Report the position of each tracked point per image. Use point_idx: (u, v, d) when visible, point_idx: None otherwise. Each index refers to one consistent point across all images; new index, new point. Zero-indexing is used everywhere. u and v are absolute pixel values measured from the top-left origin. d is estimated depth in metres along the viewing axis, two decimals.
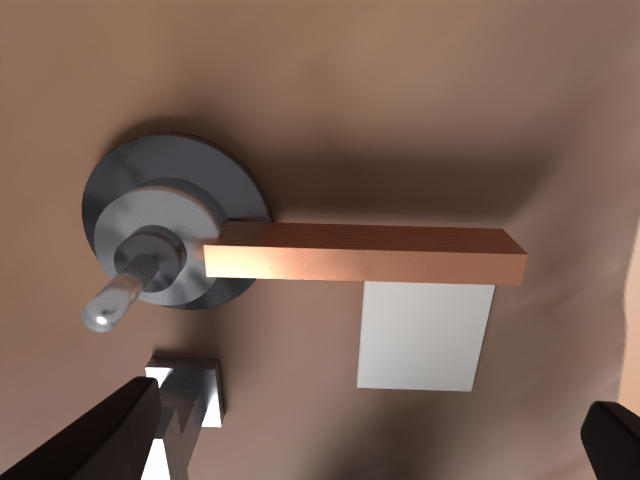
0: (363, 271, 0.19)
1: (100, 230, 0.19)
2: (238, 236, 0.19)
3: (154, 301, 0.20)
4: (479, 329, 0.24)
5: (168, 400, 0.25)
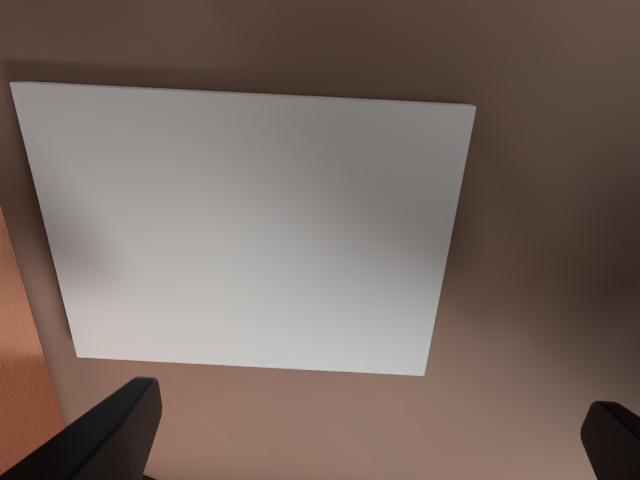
0: None
1: None
2: None
3: None
4: (248, 110, 0.09)
5: None
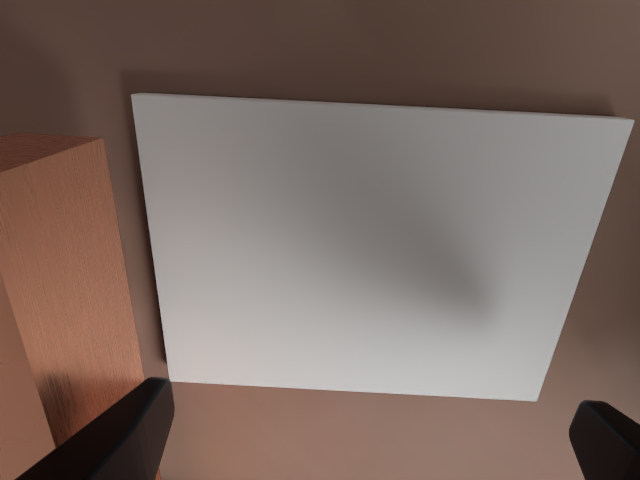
0: None
1: None
2: None
3: None
4: (386, 124, 0.08)
5: None
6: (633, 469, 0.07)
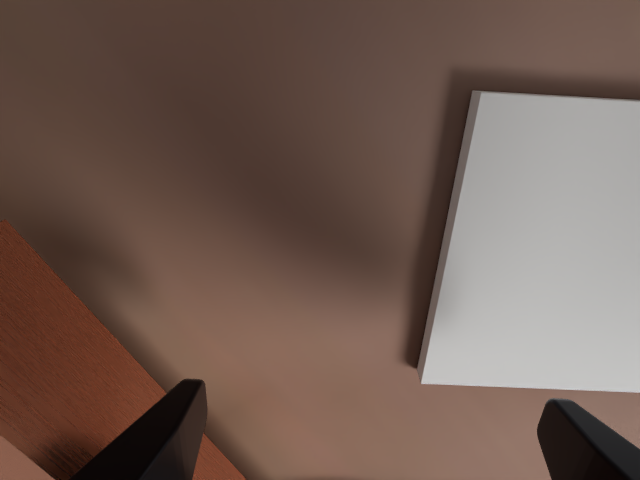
0: None
1: None
2: None
3: None
4: None
5: None
6: (593, 467, 0.07)
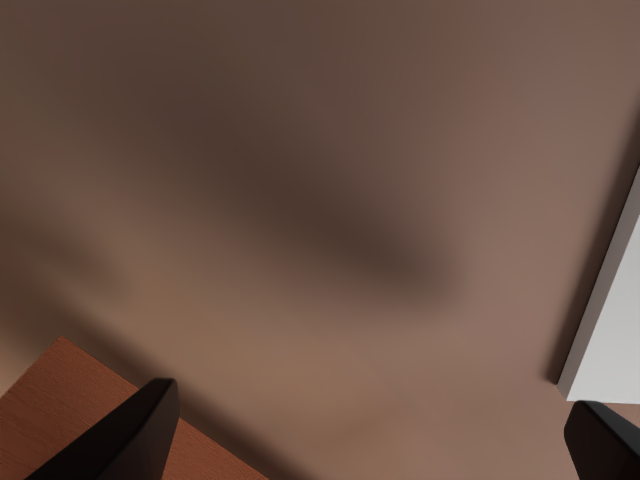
0: None
1: None
2: None
3: None
4: None
5: None
6: (627, 469, 0.07)
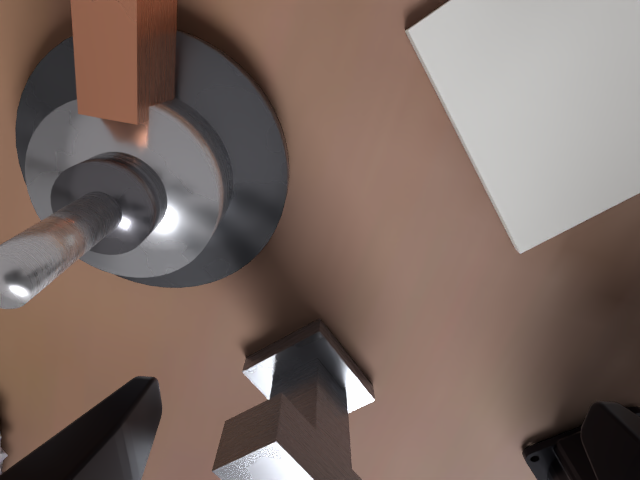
0: None
1: (93, 259, 0.14)
2: None
3: (209, 226, 0.13)
4: None
5: (285, 395, 0.18)
6: None
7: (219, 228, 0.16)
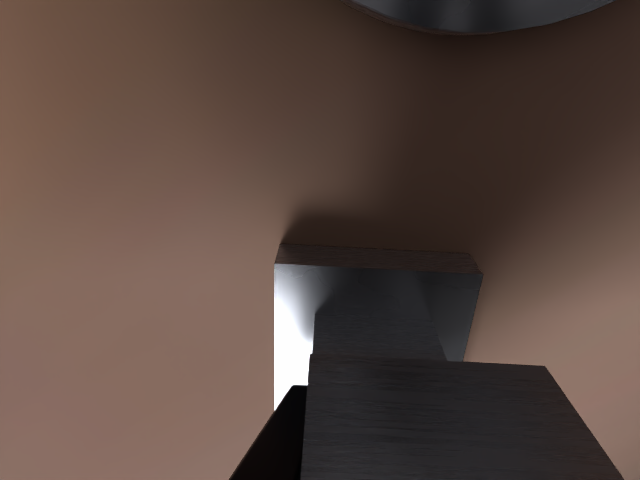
0: None
1: None
2: None
3: None
4: None
5: None
6: None
7: None
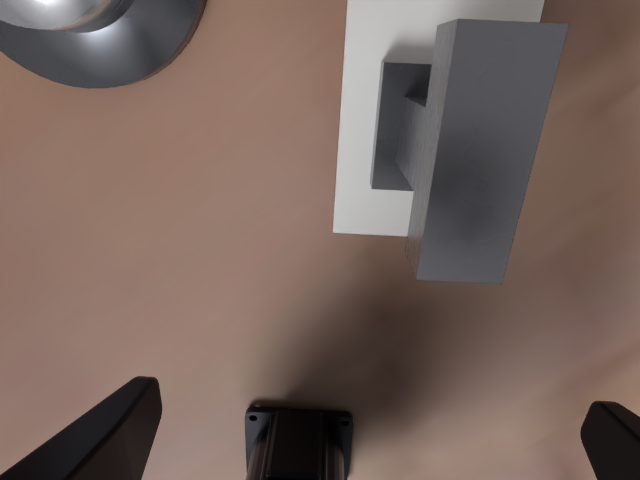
0: None
1: None
2: None
3: (79, 7, 0.13)
4: None
5: None
6: None
7: (96, 36, 0.16)
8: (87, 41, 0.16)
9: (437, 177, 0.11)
